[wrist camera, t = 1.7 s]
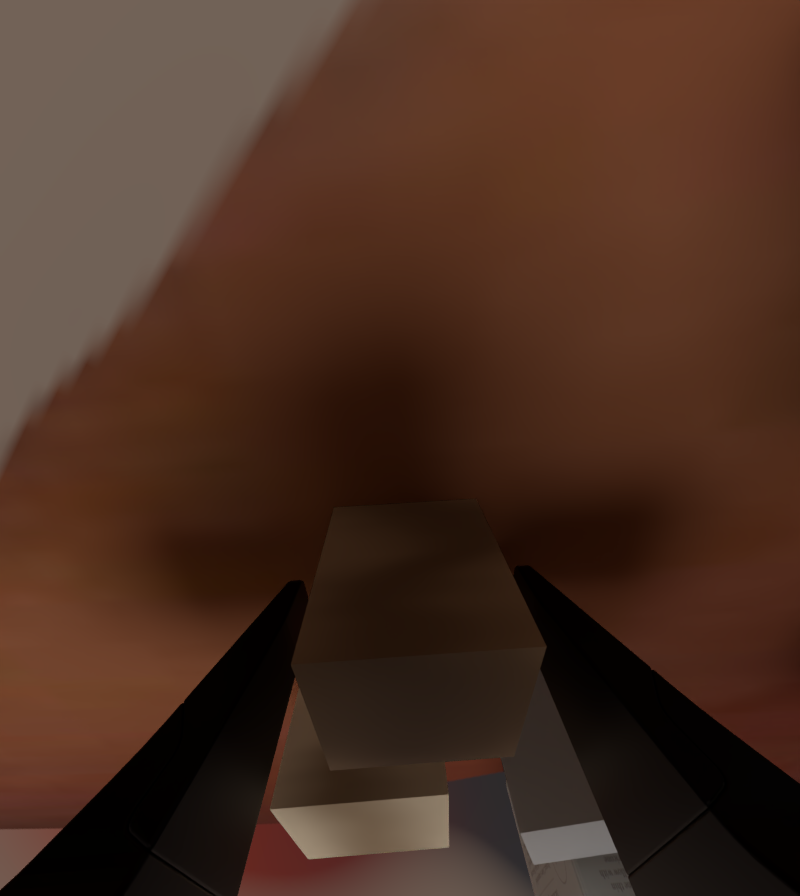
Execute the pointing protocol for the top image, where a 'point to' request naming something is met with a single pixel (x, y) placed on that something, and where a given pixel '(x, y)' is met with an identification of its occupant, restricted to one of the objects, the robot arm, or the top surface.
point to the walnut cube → (415, 639)
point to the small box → (578, 875)
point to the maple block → (356, 800)
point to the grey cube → (552, 789)
